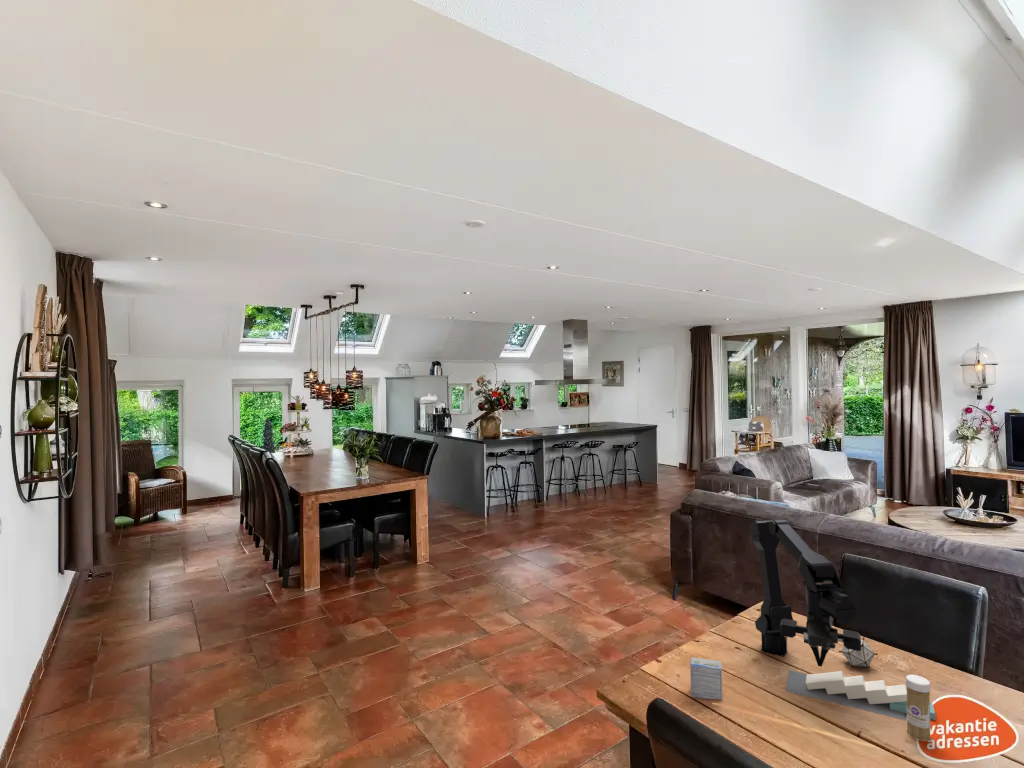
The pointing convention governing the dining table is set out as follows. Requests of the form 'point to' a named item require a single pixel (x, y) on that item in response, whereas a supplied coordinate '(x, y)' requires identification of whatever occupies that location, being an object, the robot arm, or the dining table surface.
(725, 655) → the dining table surface
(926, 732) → the sprinkles bottle
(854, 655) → the game die
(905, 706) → the domino
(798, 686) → the slate mat
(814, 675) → the domino
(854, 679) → the domino
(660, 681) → the dining table surface
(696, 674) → the medicine box
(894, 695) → the domino
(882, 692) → the domino
